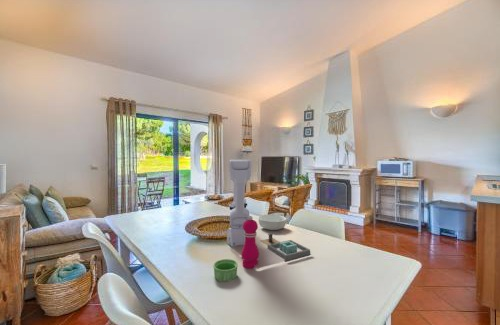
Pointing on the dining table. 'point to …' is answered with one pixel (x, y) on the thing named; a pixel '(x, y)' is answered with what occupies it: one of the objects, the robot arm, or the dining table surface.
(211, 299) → the dining table surface
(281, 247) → the collar
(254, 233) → the pepper mill
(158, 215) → the dining table surface
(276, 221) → the cereal bowl
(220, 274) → the ramekin
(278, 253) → the tray
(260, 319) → the dining table surface
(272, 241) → the stake board
